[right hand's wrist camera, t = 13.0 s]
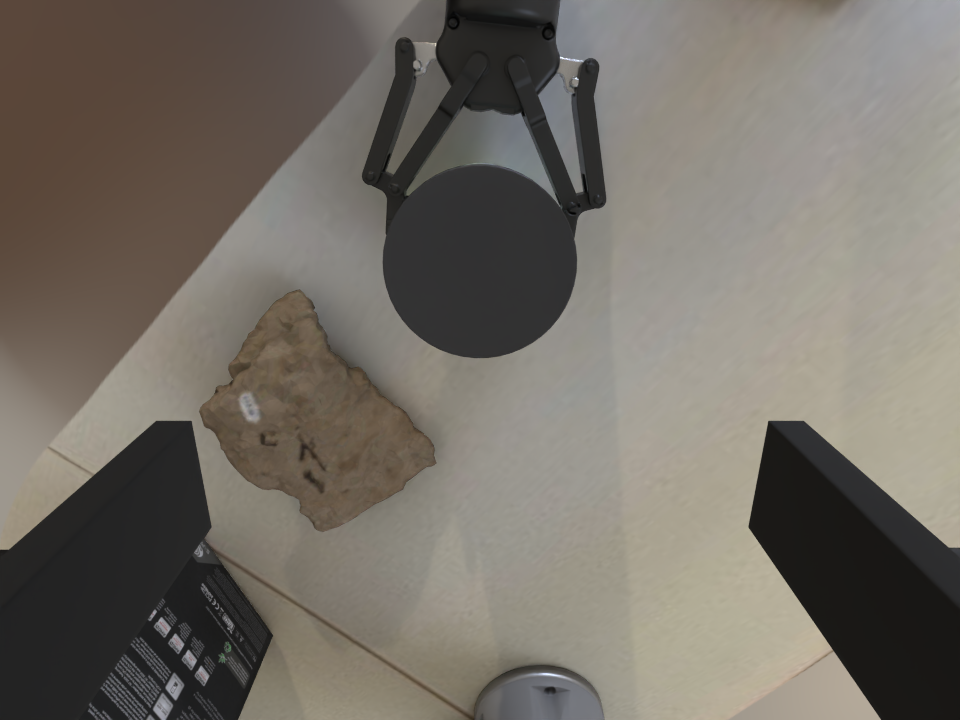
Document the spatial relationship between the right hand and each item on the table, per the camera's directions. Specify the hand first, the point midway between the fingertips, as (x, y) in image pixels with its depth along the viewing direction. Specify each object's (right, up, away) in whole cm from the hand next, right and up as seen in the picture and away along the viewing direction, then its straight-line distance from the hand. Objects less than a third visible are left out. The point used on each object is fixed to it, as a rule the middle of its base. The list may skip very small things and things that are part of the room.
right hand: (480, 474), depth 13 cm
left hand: (0, +8, +33) cm, 34 cm away
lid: (0, +8, +22) cm, 23 cm away
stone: (-15, -2, +44) cm, 47 cm away
